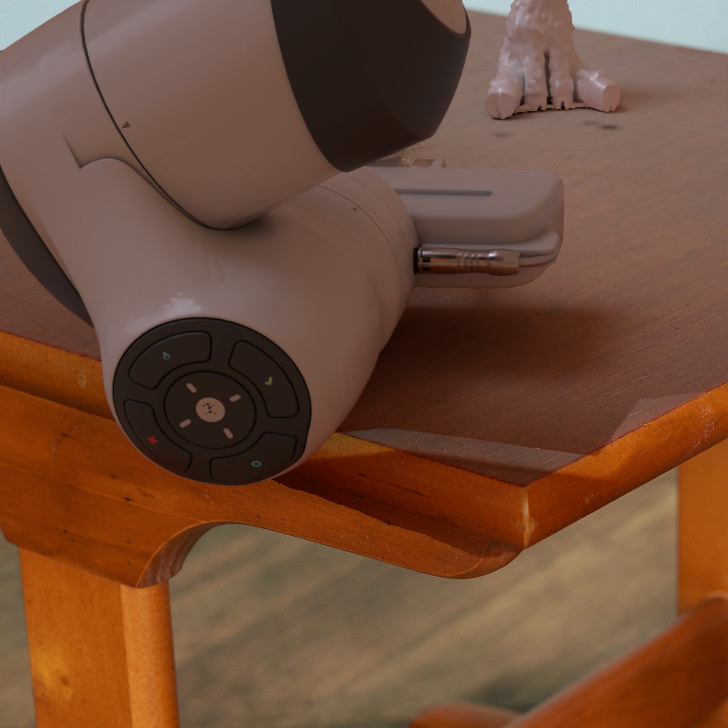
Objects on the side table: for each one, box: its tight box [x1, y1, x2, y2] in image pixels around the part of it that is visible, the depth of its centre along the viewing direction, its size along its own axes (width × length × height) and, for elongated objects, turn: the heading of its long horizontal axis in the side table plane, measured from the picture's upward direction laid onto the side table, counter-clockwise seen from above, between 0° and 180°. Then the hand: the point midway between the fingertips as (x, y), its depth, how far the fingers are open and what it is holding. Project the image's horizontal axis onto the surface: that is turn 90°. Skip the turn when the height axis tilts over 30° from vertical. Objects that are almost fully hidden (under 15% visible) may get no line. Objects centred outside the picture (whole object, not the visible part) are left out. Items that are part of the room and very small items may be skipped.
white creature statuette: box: [485, 0, 621, 120], centre depth 115 cm, size 10×9×12 cm
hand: (374, 173), depth 84 cm, fingers closed on pill bottle, 4 cm apart
